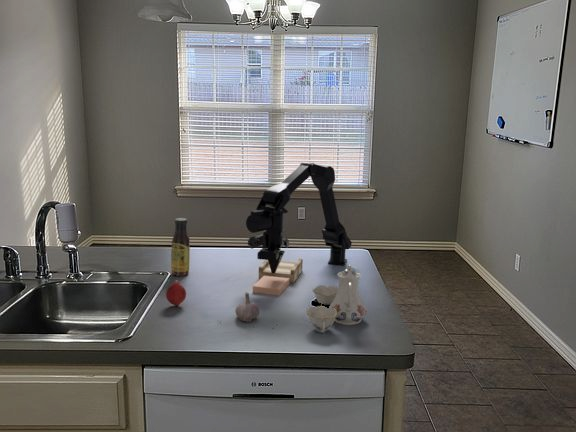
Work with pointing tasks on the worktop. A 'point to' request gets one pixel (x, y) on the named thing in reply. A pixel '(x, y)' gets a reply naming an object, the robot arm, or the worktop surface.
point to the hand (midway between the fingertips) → (273, 273)
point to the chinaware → (338, 302)
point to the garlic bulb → (247, 310)
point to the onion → (176, 293)
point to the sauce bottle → (180, 249)
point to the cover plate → (271, 285)
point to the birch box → (282, 269)
